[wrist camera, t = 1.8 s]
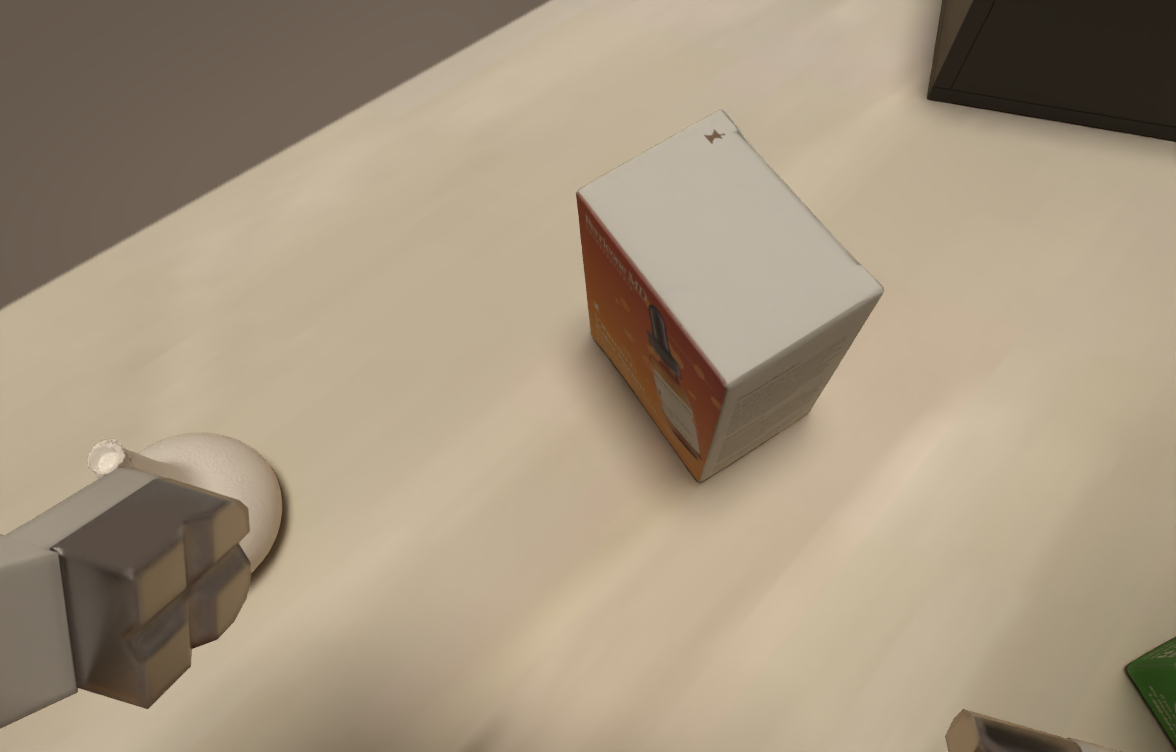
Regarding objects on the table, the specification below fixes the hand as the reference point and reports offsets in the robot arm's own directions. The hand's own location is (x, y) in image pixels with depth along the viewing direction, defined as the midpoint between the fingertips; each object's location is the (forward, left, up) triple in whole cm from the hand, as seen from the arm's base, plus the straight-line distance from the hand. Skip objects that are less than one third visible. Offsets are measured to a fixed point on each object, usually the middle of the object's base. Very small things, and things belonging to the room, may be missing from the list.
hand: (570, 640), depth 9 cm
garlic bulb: (+17, -1, -21) cm, 27 cm away
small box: (0, -12, -21) cm, 25 cm away
